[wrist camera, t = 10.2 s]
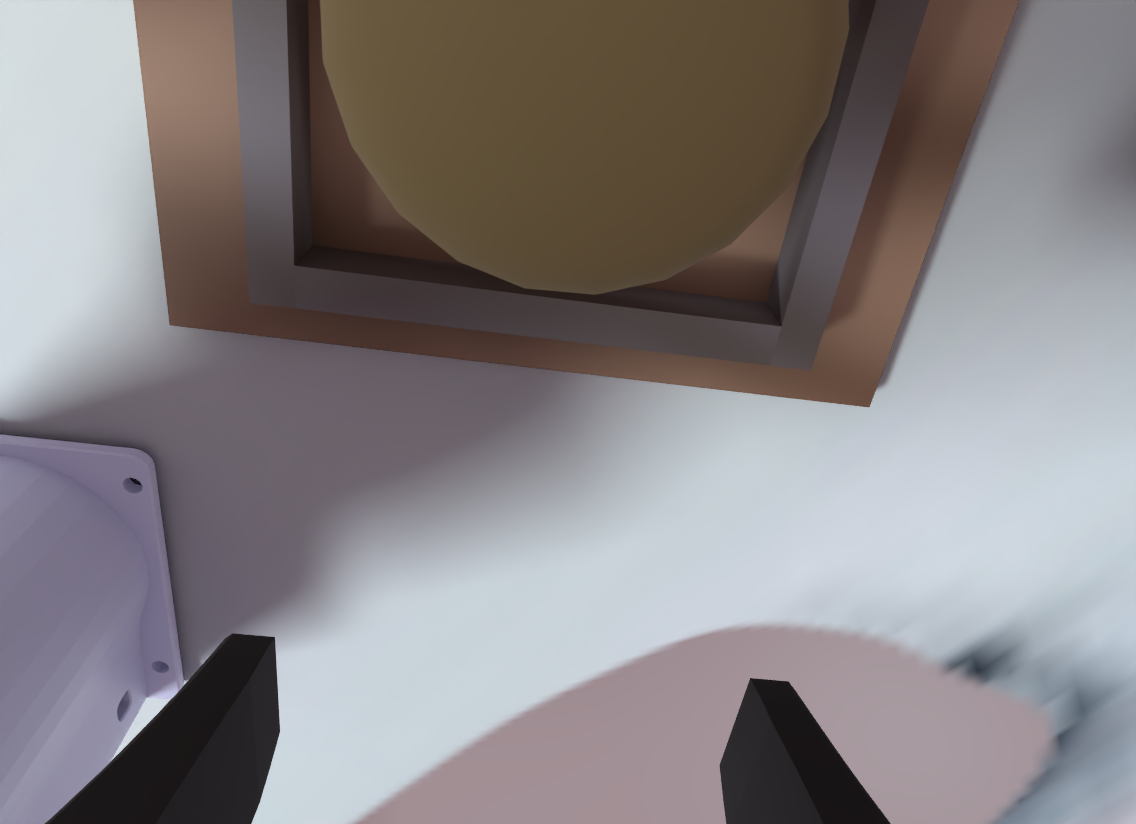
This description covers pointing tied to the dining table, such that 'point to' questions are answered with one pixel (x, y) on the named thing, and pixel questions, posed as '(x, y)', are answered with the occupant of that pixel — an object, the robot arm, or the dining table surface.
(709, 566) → the dining table surface
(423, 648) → the dining table surface
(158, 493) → the robot arm
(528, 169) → the cork
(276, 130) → the framed serving tray
